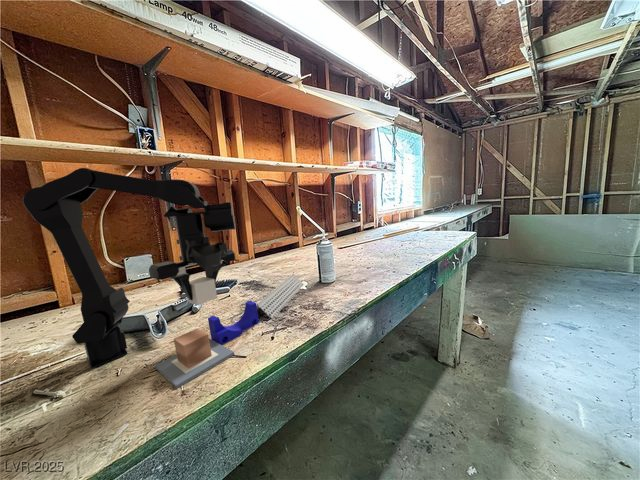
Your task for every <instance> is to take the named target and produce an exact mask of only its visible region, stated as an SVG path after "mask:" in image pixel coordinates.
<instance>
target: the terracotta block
mask: <svg viewBox="0 0 640 480" xmlns="http://www.w3.org/2000/svg"><path fill="white" fill-rule="evenodd" d="M209 337H210V336H209V334H208V333H207V332H205V331H204V330H201V329H199V328H194V329H193V330H190V331H189V332H186V333H183V334H181V335H180V336H176V337H175V338H173V343H174V347H175V353H176V354H177V359H178V361H179V362H180V363H182V364H183V365H184V366H185V367H187V368H190V367H192V366H194V365H196V364H197V363H199V362H201V361H203V360H205V359H206V358H208V357H210V356H212V354H211V348H210V342H209ZM176 354H175V355H176Z"/></svg>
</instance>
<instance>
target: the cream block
mask: <svg viewBox="0 0 640 480" xmlns="http://www.w3.org/2000/svg"><path fill="white" fill-rule="evenodd" d="M189 282H190V286H191V290H192V295H193V300H189V298H188V297H187V296H186V300H187V303H190V304H193V305H196V306H200V305H203V304H205V303H209V302H210V301H213V300H216V299H218V295H217V288H216V283H215V281H214V279H212V278H207V277H206V276H201V277H198V278H196V279H192V280H189Z"/></svg>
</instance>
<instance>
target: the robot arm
mask: <svg viewBox="0 0 640 480" xmlns="http://www.w3.org/2000/svg"><path fill="white" fill-rule="evenodd" d="M99 189H100V190H107V191H114V192H121V193H127V194H128V193H129V194H135V195H140V196H147V197H151V198H156V199H158V200H160V201H162V202H167V203H169V204H173V205H176V206H181V207H182V206H184V207H185V206H186V207H187V208H177V207H175V206H171V205H170V207H169V209H168V210H167V211H166V212H165V213H164V214H163V217H165V218H172V217H174V221H175V227H176V232H177V238H178V239H176V244H177V245H179V249H180V256H179V257H178V258H179V261H180V262H179V261H178V262H176V261H175V262H174V261H173V262H172V261H167V260H166V261H163V262H157V263H154V264H151V265H150V266H149V268H148V273H149V277H150V278H151V279H155V280H159V281H162V280H167V279H173V280H174V282H176V284H177V285H178V286H179V288H181V290H182V291H183V293H184V294H185V296H186V298H187V297H188V298H189V300H193V295H192V290H191V286H190V282H189V281H190V276H191V274H190V273H189V272H188V273H187V269H190V268H195V267H198V266H199V267H200V268H201V269H204V273H205V277H207V278H212V279H214V281H215V284H216V283H217V277H218V275H219V272H220V270H221V269H222V268H223V267H225V266H226V263H229V262H233V261H236V259H237V258H236V253H235V252H234V250H232V249H230V248H229V249H228V246H227V243H225V242H224V241H220V242H216V243H215V244H211V243H210V239H209V236H206V234H205V229H209V230H210V231H211V233H215V232H222V231H232V230H233V231H234V230H236V225H237V224H236V217H235V214H234V212H233V210H234V209H233V206H232V203H231V202H230V201H228V202H223V203H215V204H214V203H213V204H210V203H208V201H206V199H204V198H203V197H202V196H201V192H200V190H199V188H198V187H197V185H196V184H194V183H191V182H189V181H187V180H184V179H147V178H140V177H133V176H129V175H122V174H118V173H117V174H116V173H111V172H110V173H109V172H106V171H98V170H96V169H90V168H87V167H81V168H77V169H74V171H71V172H70V173H69V174H66V175H64V176H61V177H59V178H56V179H54V180H51V181H49V182H45V184H43V185H41V186H38V187H33V188H31V189H29V190H28V191H27V192H26V194H25V195H24V196H23V197H22V203H23V206H24V207H25V209H26V210H27V211H28V213H29V214H30V216H31V217H32V218H33V220H34V221H35V222H37V223H38V224H39V225H40V226H42V227H43V228H44V229H46V230H47V231H49V232H50V233H51V235H52V237H53V239H54V241H55V243H56V244H57V247H58V249H59V251H60V253H61V254H62V257H63V259H64V261H65V263H66V265H67V267H68V269H69V271H70V274H71V275H72V277H73V279H74V280H75V283H76V285H77V288H78V290H79V291H80V293H81V302H80V313H81V316H82V321H83V322H82V324H80V326H79V327H78V328H77V329H76V331H75V332H74V333H73V334H72V335H71V337H72V338H73V340H74V341H75V343H76V344H77V345H80V344H83V345H84V350H85V353H86V359H85V360H86V361H87V364H88V365H89V367H90V368H91V369H95V368H97V367H99V366H102V365H104V364H107V363H109V362H112V361H114V360H116V359H119V358H120V357H121V358H122V357H123V356H125V355H127V354H128V350H127V349H128V345H127V339H126V336H125V333H124V331H122V330H121V328H120V326H119V325H120V324H122V323H123V318H124V316H126V314H127V313H128V310H129V303H130V302H131V300H130V299H128V298H127V296H126V293H125V292H126V291H125V290H124V288H123V287H120V288H118V289H115V287H113V286H111V284H109V282H108V279H107V278H106V276H105V273H104V272H103V270H102V268H101V265H100V262H99V261H98V259H97V257H96V255H95V253H94V251H93V248H92V246H91V244H90V242H89V240H88V238H87V236H86V233H85V231H84V229H83V226H82V225H83V217H84V212H83V208H82V204H83V203H85V202H86V201H88V200H89V199H90V198H91V197H92V196H93V195H94V194H95V193H96V192H97V191H98V190H99ZM190 207H191V208H190ZM192 208H193V209H195V210H196V209H197V210H202V209H203V210H204V211H197V212H196V211H195V212H194V211H192ZM223 262H224V263H223Z"/></svg>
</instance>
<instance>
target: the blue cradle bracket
mask: <svg viewBox="0 0 640 480" xmlns="http://www.w3.org/2000/svg"><path fill="white" fill-rule="evenodd" d="M244 305H245V306H244V310H243V313H242V316H241V317H240V319H239V320H237V321H236V322H235V323H233V324H230V325H227V326H225V325H224V324H222V322H221V320H220V318H219V317H218V316H215V315H212V316H209V317H207V322H208V326H209V327H208V328H209V333H210V339H211V340H213V341H215V342H217V343H219V344H221V345H222V346H224V345H225V344H227V343H228V342H230V341H232V340H234V339H236V338H239V337H240V336H242V335H244V334H243V331H246V330H247V329H250V328H252V327H254V326H255V325H257V324H259V323H260V321H259V315H258V314H259V313H258V310H257V302H255V301H252V300H248V301H246V302H245V303H244Z"/></svg>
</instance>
